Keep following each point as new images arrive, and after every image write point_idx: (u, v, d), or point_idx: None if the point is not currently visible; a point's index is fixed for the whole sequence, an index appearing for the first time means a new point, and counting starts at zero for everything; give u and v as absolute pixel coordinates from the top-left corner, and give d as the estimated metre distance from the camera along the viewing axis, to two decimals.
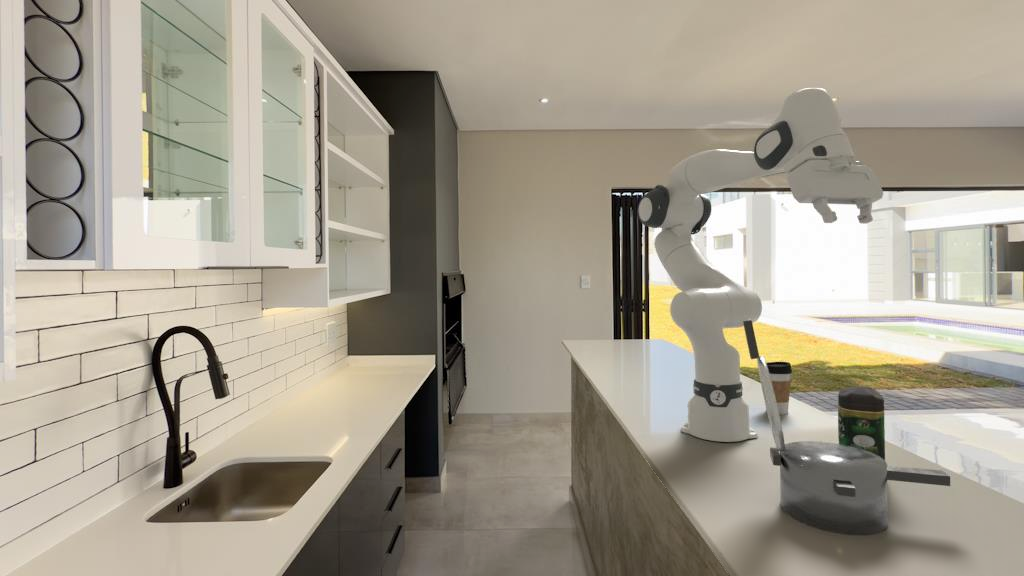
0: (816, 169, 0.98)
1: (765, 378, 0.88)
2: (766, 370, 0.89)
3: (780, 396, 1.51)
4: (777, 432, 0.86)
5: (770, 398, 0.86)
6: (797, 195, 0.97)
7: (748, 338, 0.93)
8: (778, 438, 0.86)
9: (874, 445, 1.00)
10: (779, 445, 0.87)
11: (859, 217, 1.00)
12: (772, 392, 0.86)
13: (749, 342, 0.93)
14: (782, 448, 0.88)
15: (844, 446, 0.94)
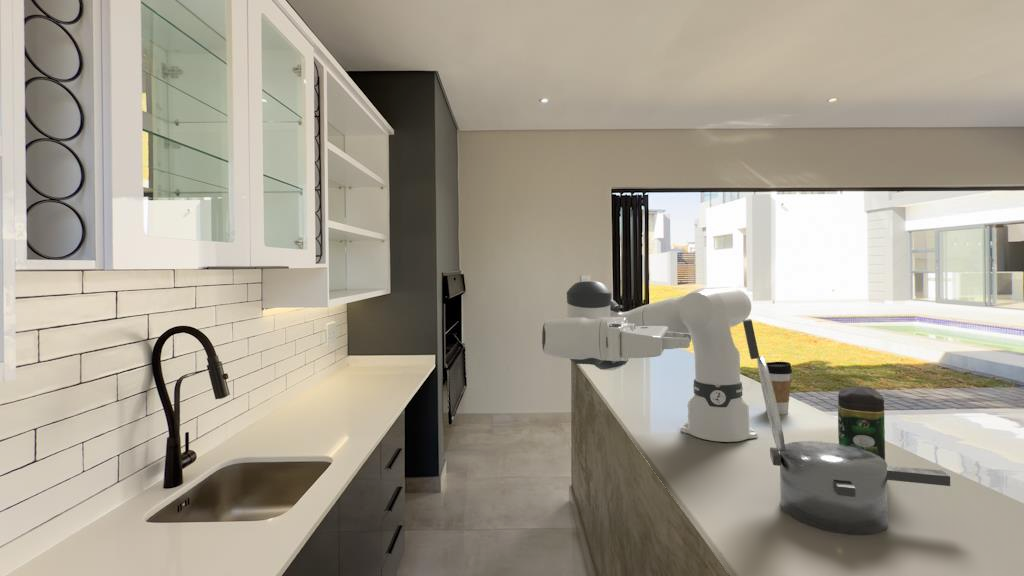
0: None
1: (765, 378, 0.88)
2: (766, 370, 0.89)
3: (780, 396, 1.51)
4: (777, 432, 0.86)
5: (770, 398, 0.86)
6: (653, 351, 0.91)
7: (748, 338, 0.93)
8: (778, 438, 0.86)
9: (874, 445, 1.00)
10: (779, 445, 0.87)
11: None
12: (772, 392, 0.86)
13: (749, 342, 0.93)
14: (782, 448, 0.88)
15: (844, 446, 0.94)
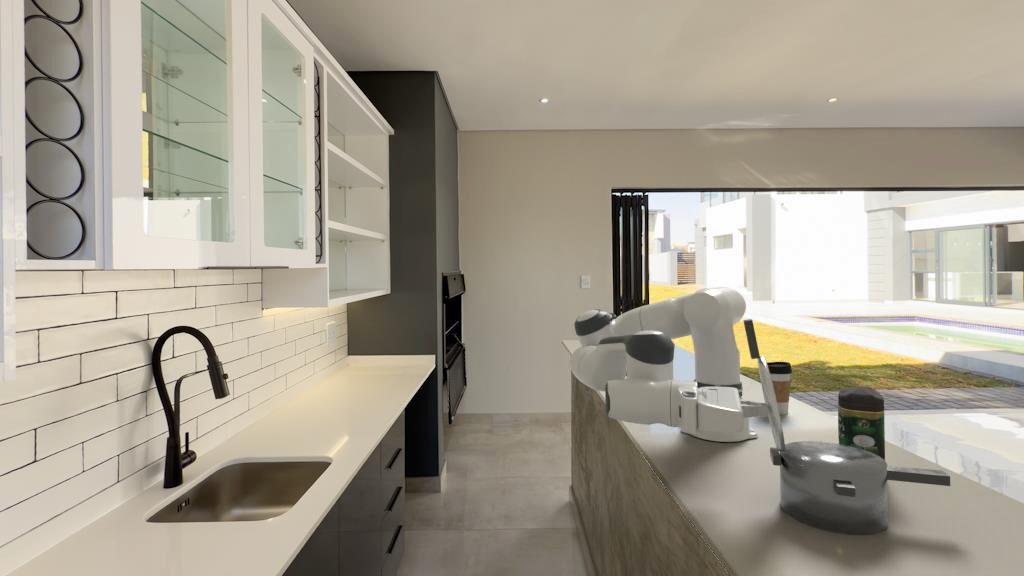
0: None
1: (765, 378, 0.88)
2: (766, 370, 0.89)
3: (780, 396, 1.51)
4: (777, 432, 0.86)
5: (770, 398, 0.86)
6: (736, 426, 0.85)
7: (749, 338, 0.93)
8: (778, 438, 0.86)
9: (874, 445, 1.00)
10: (779, 445, 0.87)
11: None
12: (772, 392, 0.86)
13: (750, 342, 0.93)
14: (782, 448, 0.88)
15: (844, 446, 0.94)
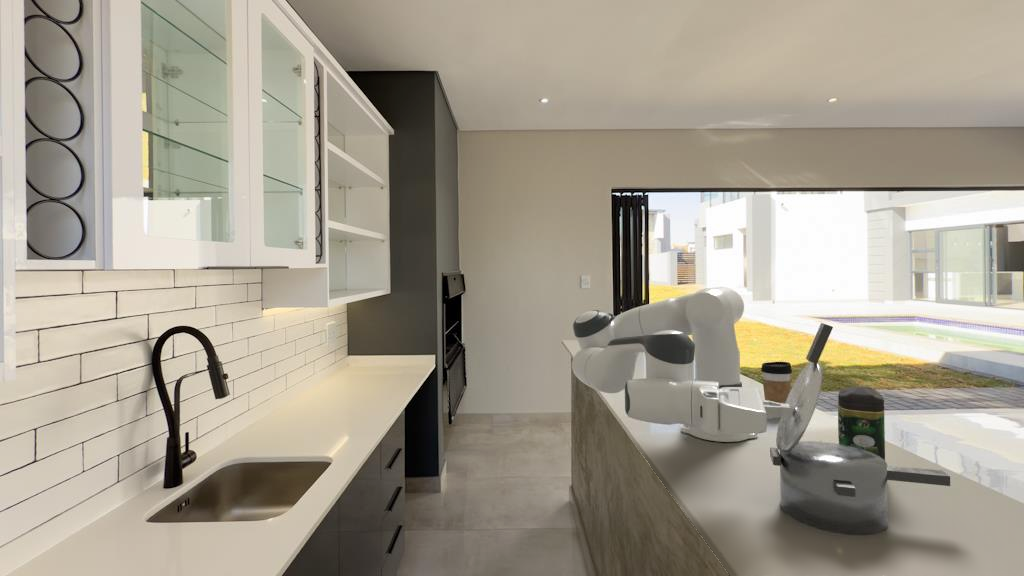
0: None
1: (816, 384, 0.85)
2: (820, 377, 0.86)
3: (780, 396, 1.51)
4: (796, 434, 0.85)
5: (810, 403, 0.84)
6: (759, 427, 0.84)
7: (818, 341, 0.89)
8: (793, 439, 0.85)
9: (874, 445, 1.00)
10: (788, 445, 0.87)
11: None
12: (815, 399, 0.84)
13: (817, 345, 0.89)
14: (788, 449, 0.88)
15: (844, 446, 0.94)
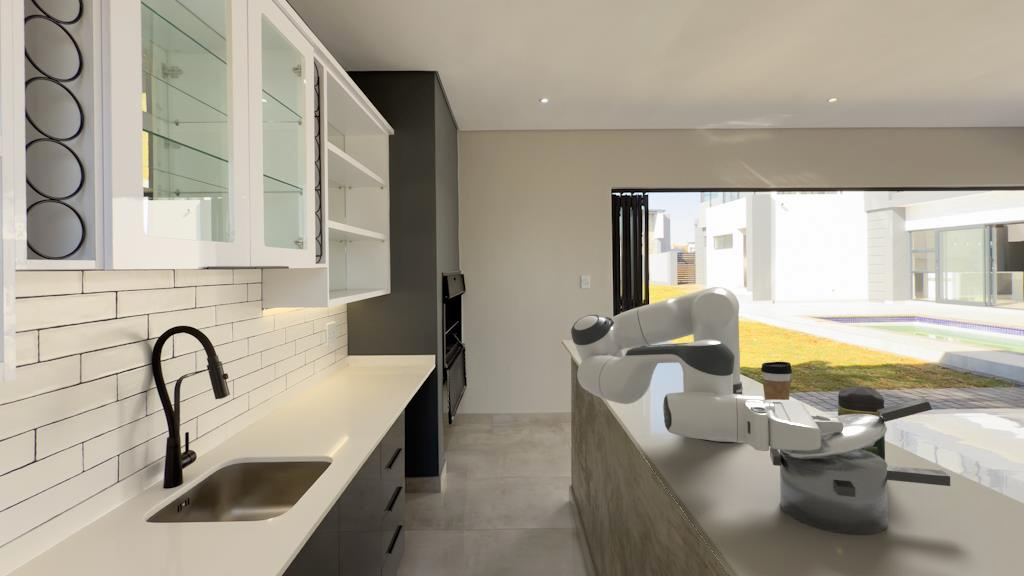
0: None
1: (875, 435, 0.82)
2: (882, 433, 0.83)
3: (780, 396, 1.51)
4: (819, 453, 0.84)
5: (858, 444, 0.81)
6: (813, 444, 0.82)
7: (907, 408, 0.84)
8: (810, 454, 0.85)
9: (874, 445, 1.00)
10: (799, 454, 0.86)
11: None
12: (865, 444, 0.81)
13: (902, 410, 0.85)
14: (793, 455, 0.87)
15: None
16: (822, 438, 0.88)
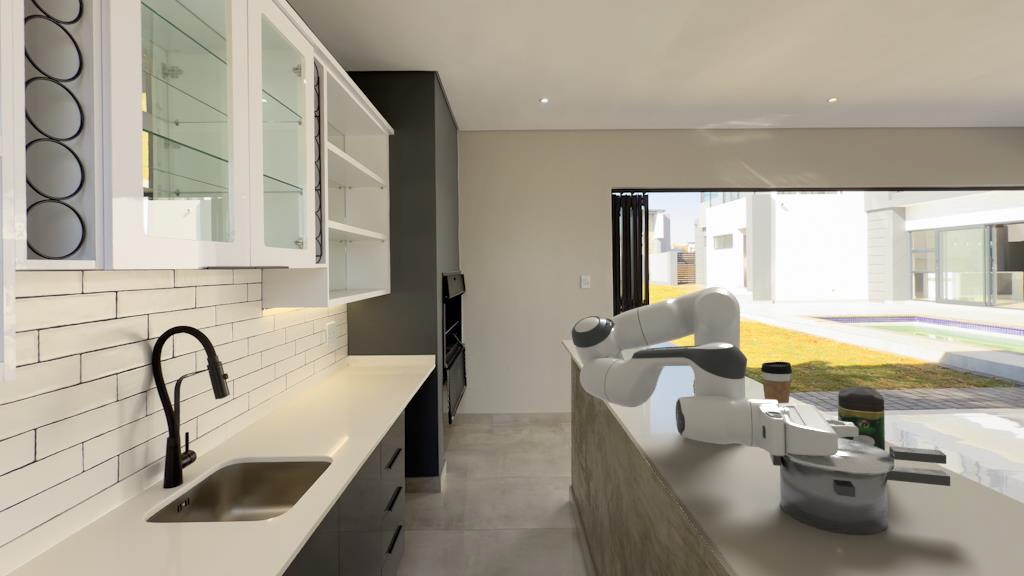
0: None
1: (884, 467, 0.82)
2: (890, 469, 0.82)
3: (780, 396, 1.51)
4: (822, 465, 0.83)
5: (864, 469, 0.81)
6: (830, 449, 0.81)
7: (922, 455, 0.84)
8: (813, 463, 0.84)
9: (874, 445, 1.00)
10: (801, 460, 0.86)
11: None
12: (870, 473, 0.81)
13: (916, 454, 0.84)
14: (794, 459, 0.87)
15: None
16: None
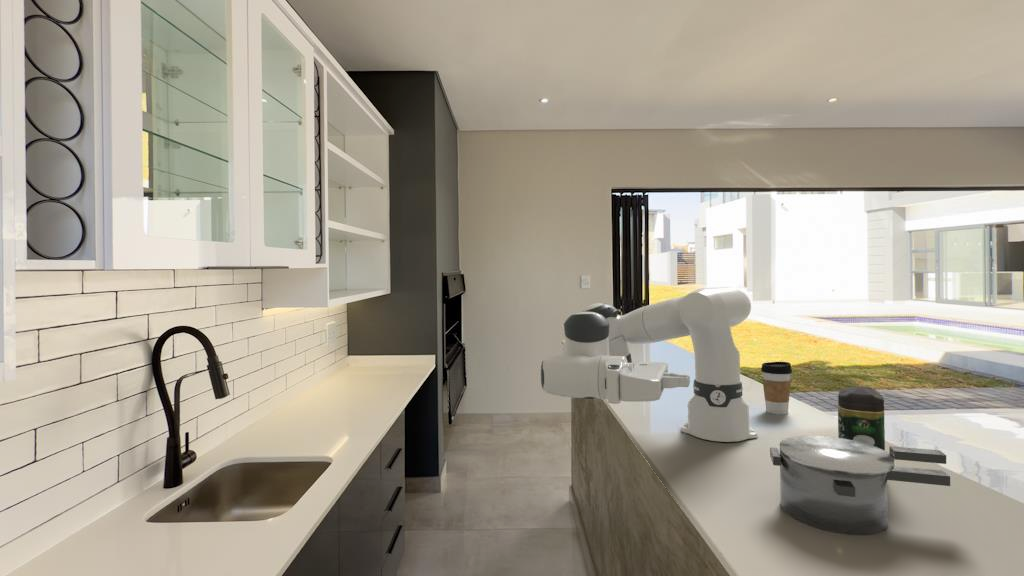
0: None
1: (884, 467, 0.82)
2: (890, 469, 0.82)
3: (780, 396, 1.51)
4: (822, 465, 0.83)
5: (864, 469, 0.81)
6: (652, 395, 0.90)
7: (922, 455, 0.84)
8: (813, 463, 0.84)
9: (874, 445, 1.00)
10: (801, 460, 0.86)
11: None
12: (870, 473, 0.81)
13: (916, 454, 0.84)
14: (794, 459, 0.87)
15: None
16: (827, 453, 0.88)
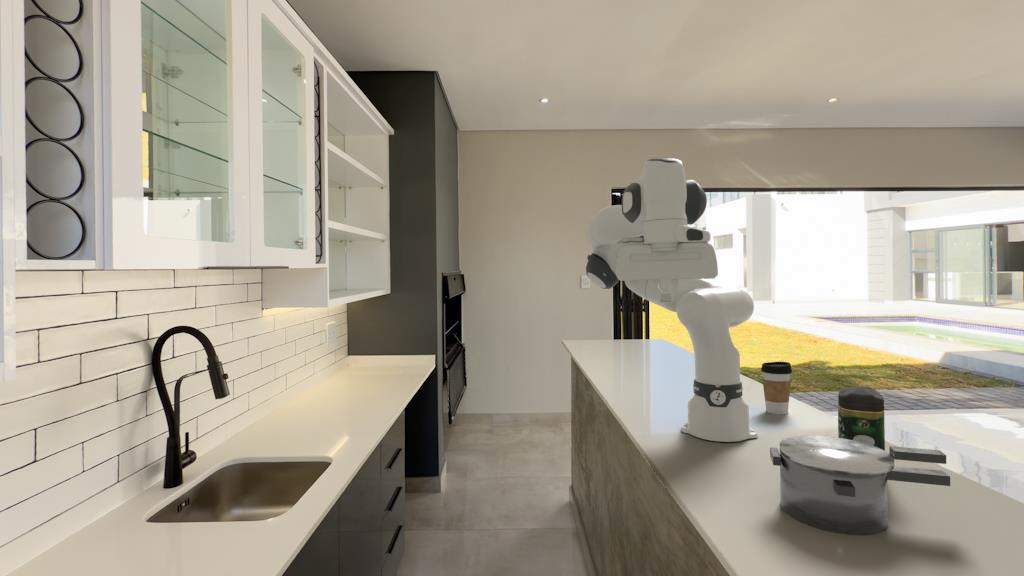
0: None
1: (884, 467, 0.82)
2: (890, 469, 0.82)
3: (780, 396, 1.51)
4: (822, 465, 0.83)
5: (864, 469, 0.81)
6: (717, 272, 1.01)
7: (922, 455, 0.84)
8: (813, 463, 0.84)
9: (874, 445, 1.00)
10: (801, 460, 0.86)
11: None
12: (870, 473, 0.81)
13: (916, 454, 0.84)
14: (794, 459, 0.87)
15: None
16: (827, 453, 0.88)
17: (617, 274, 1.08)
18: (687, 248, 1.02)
